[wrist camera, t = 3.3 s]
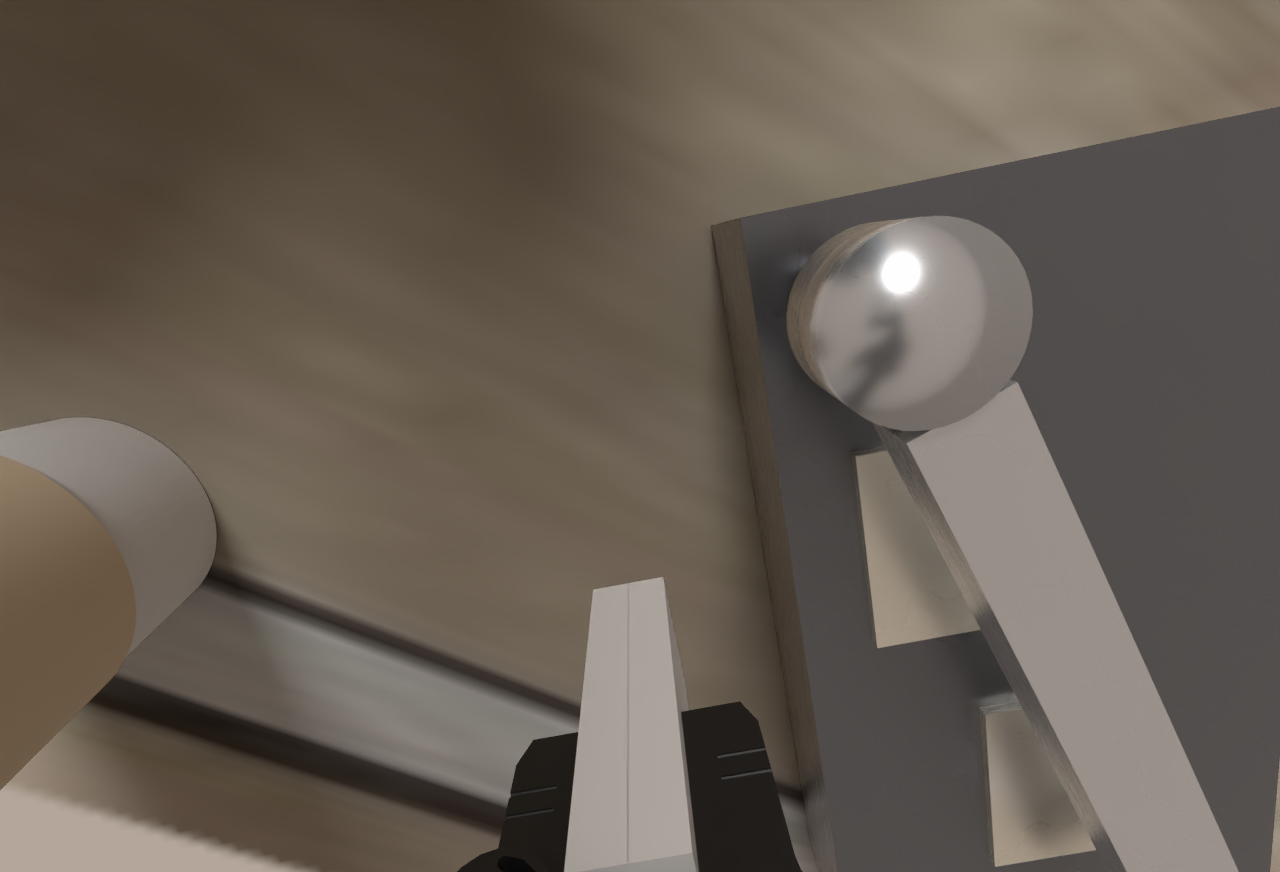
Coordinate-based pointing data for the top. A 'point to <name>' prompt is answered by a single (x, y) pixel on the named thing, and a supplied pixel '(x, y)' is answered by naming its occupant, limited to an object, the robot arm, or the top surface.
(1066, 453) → the lever switch
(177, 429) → the top surface
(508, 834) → the robot arm
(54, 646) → the coffee cup
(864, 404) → the grey long bar
